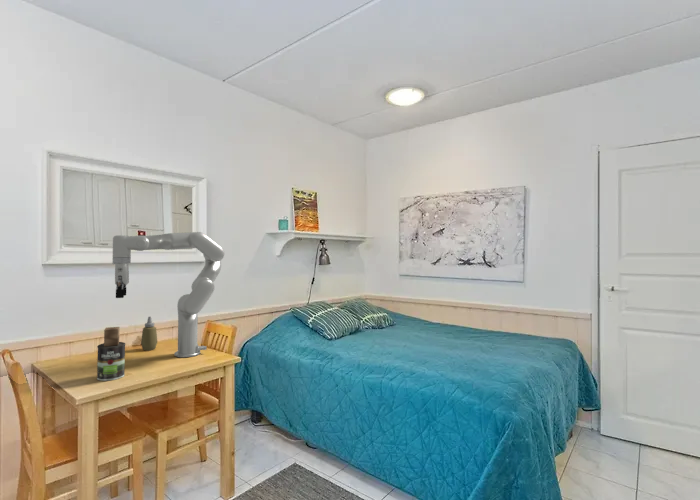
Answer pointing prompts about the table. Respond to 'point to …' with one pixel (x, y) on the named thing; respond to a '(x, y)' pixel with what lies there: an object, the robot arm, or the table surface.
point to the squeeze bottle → (149, 336)
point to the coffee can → (111, 362)
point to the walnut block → (111, 336)
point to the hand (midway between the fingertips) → (121, 296)
